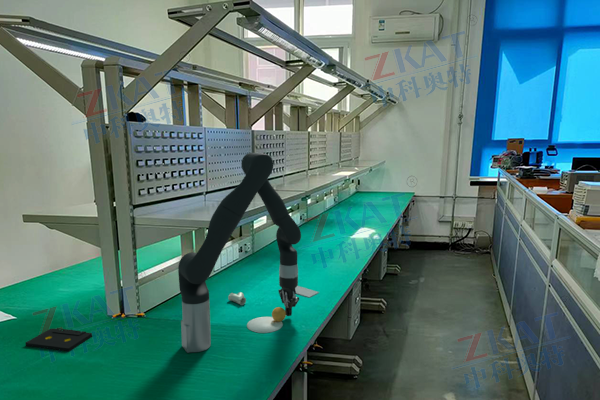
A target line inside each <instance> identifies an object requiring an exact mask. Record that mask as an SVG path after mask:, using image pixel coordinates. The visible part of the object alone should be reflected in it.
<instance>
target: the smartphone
mask: <svg viewBox="0 0 600 400" xmlns="http://www.w3.org/2000/svg"><path fill="white" fill-rule="evenodd" d="M295 290H296V294H295V295H298V296H302V297H305V298H312V297H314V296H317V295H318V294H319V293H320V291H316V290H313V289H310V288H307V287H304V286H300V285H298V286H297V287H296V288H295Z"/></svg>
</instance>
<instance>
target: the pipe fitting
mask: <svg viewBox="0 0 600 400" xmlns="http://www.w3.org/2000/svg"><path fill="white" fill-rule="evenodd" d="M227 297H228V301H231V302H234V303H236V304H238V305H240V306H243V305H245V304H246V302H247V298H246V297H245V295H244V293H243V292H241V291H240V292H238V293H233V292H231V293H229V295H228V296H227Z"/></svg>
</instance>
